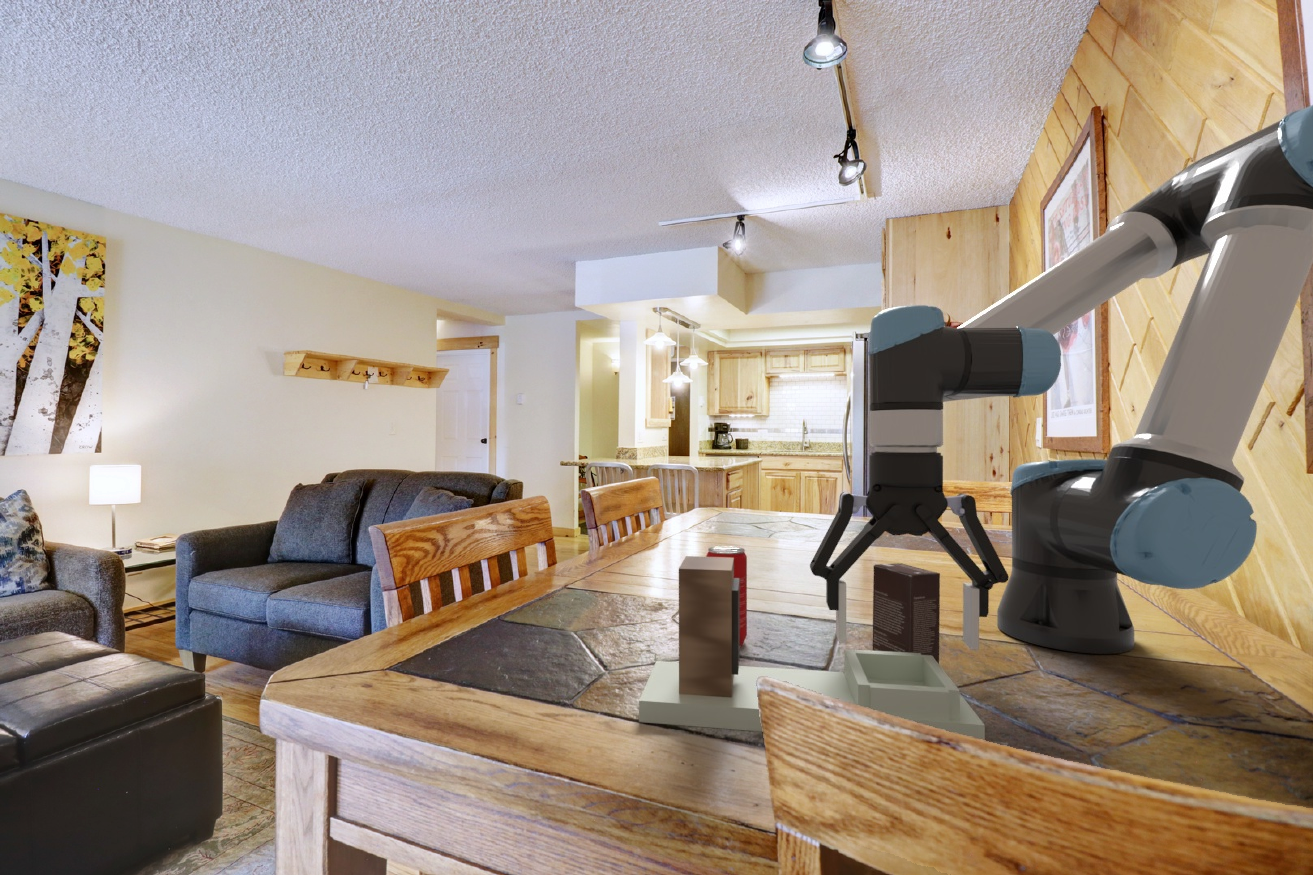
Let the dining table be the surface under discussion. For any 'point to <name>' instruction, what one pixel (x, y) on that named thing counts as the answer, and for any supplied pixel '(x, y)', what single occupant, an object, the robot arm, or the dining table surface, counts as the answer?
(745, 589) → the beverage can
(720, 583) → the brown tall rectangular block
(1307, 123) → the robot arm
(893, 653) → the pale green holder tray
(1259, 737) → the dining table surface
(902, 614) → the box
